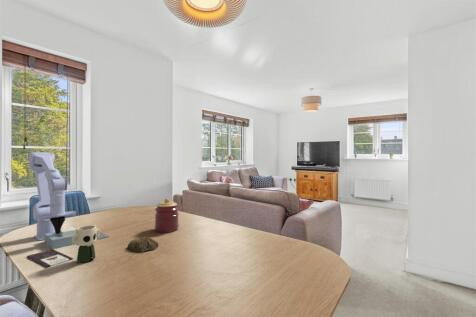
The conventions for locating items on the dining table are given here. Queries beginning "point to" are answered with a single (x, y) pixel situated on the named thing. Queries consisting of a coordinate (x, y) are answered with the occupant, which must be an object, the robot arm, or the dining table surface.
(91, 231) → the character mug
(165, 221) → the canister
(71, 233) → the tile
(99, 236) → the mat
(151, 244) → the mossy rock
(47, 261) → the chocolate bar
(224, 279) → the dining table surface
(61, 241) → the plate
